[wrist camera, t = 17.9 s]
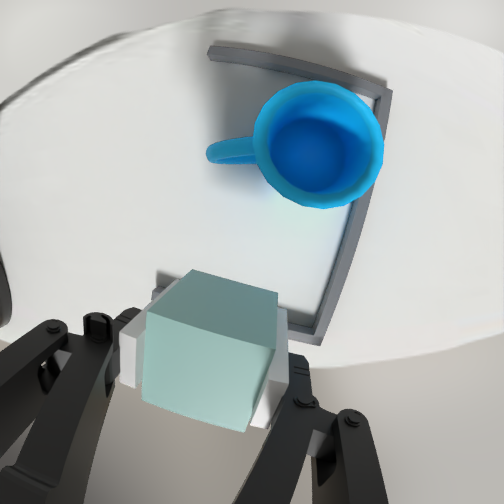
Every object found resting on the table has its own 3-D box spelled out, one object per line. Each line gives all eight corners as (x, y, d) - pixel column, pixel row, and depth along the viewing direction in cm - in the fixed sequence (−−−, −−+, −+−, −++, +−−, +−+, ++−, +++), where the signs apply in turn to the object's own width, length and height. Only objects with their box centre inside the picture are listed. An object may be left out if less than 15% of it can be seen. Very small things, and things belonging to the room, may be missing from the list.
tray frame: (157, 294, 28) (151, 300, 26) (213, 52, 22) (210, 45, 20) (318, 338, 27) (320, 346, 26) (387, 95, 21) (392, 90, 20)
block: (192, 269, 16) (146, 310, 10) (277, 292, 16) (276, 349, 10) (179, 341, 17) (141, 399, 11) (255, 363, 17) (244, 432, 11)
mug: (348, 114, 22) (377, 85, 14) (353, 202, 24) (386, 209, 16) (216, 117, 23) (189, 89, 15) (220, 205, 25) (193, 213, 17)
